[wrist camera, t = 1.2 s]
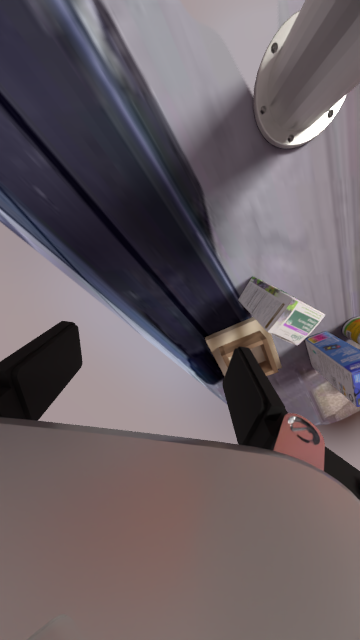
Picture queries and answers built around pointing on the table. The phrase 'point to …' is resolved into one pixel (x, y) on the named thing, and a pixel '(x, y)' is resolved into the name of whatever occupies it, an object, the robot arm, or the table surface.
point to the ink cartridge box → (336, 363)
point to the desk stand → (245, 345)
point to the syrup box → (279, 311)
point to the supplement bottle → (352, 329)
